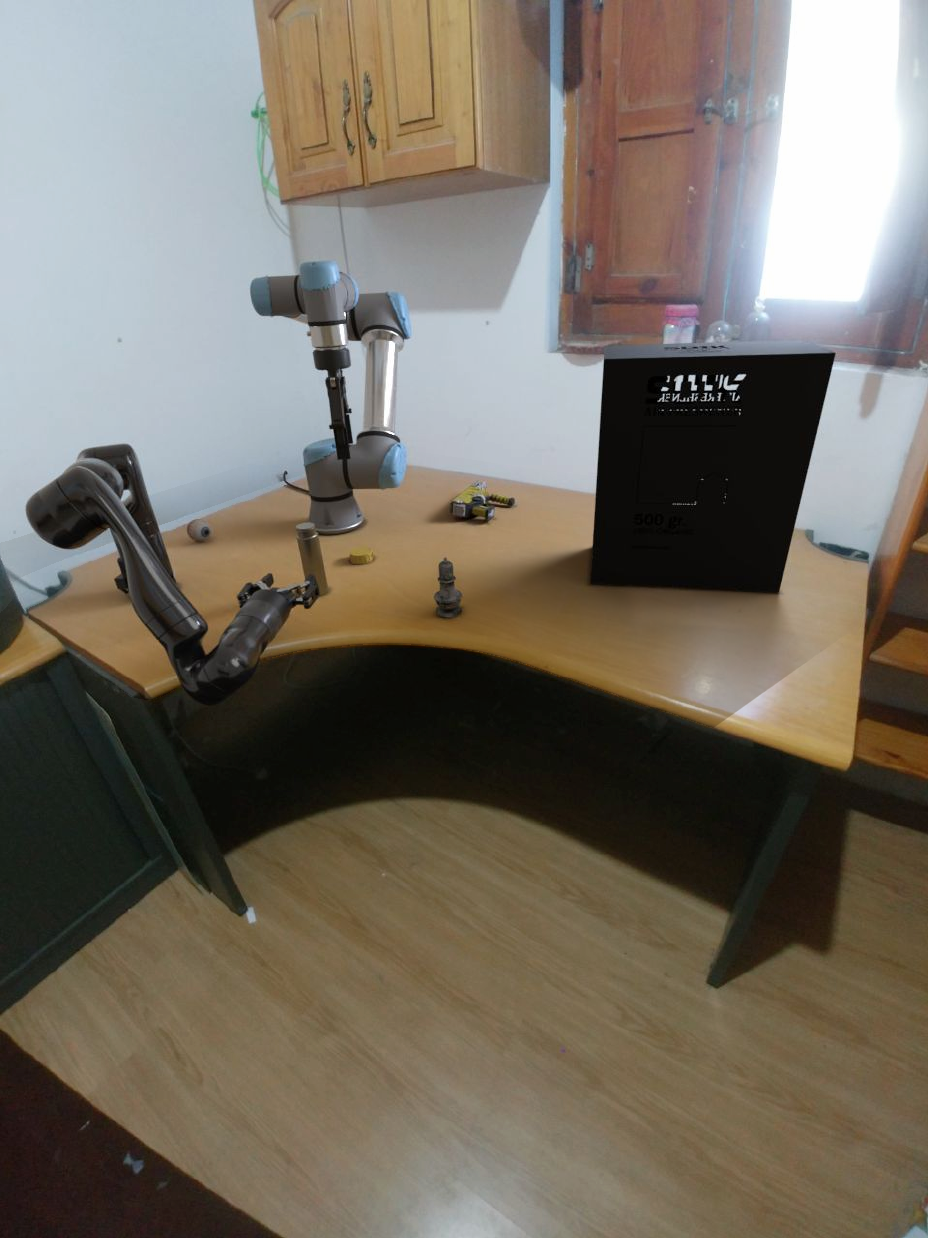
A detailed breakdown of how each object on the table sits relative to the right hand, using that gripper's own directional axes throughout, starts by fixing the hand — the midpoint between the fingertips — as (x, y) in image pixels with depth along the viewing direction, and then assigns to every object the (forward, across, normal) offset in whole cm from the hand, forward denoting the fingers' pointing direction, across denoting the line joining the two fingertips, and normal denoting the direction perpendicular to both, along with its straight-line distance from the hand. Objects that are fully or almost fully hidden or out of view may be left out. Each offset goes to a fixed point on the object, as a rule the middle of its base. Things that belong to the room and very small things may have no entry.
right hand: (345, 451), depth 135 cm
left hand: (+17, +27, -12) cm, 34 cm away
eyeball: (+26, -22, -44) cm, 56 cm away
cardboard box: (+26, +22, +71) cm, 79 cm away
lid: (+24, 0, 0) cm, 25 cm away
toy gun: (+26, -28, +36) cm, 53 cm away
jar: (+26, +16, -9) cm, 32 cm away
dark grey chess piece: (+26, +31, +18) cm, 45 cm away
